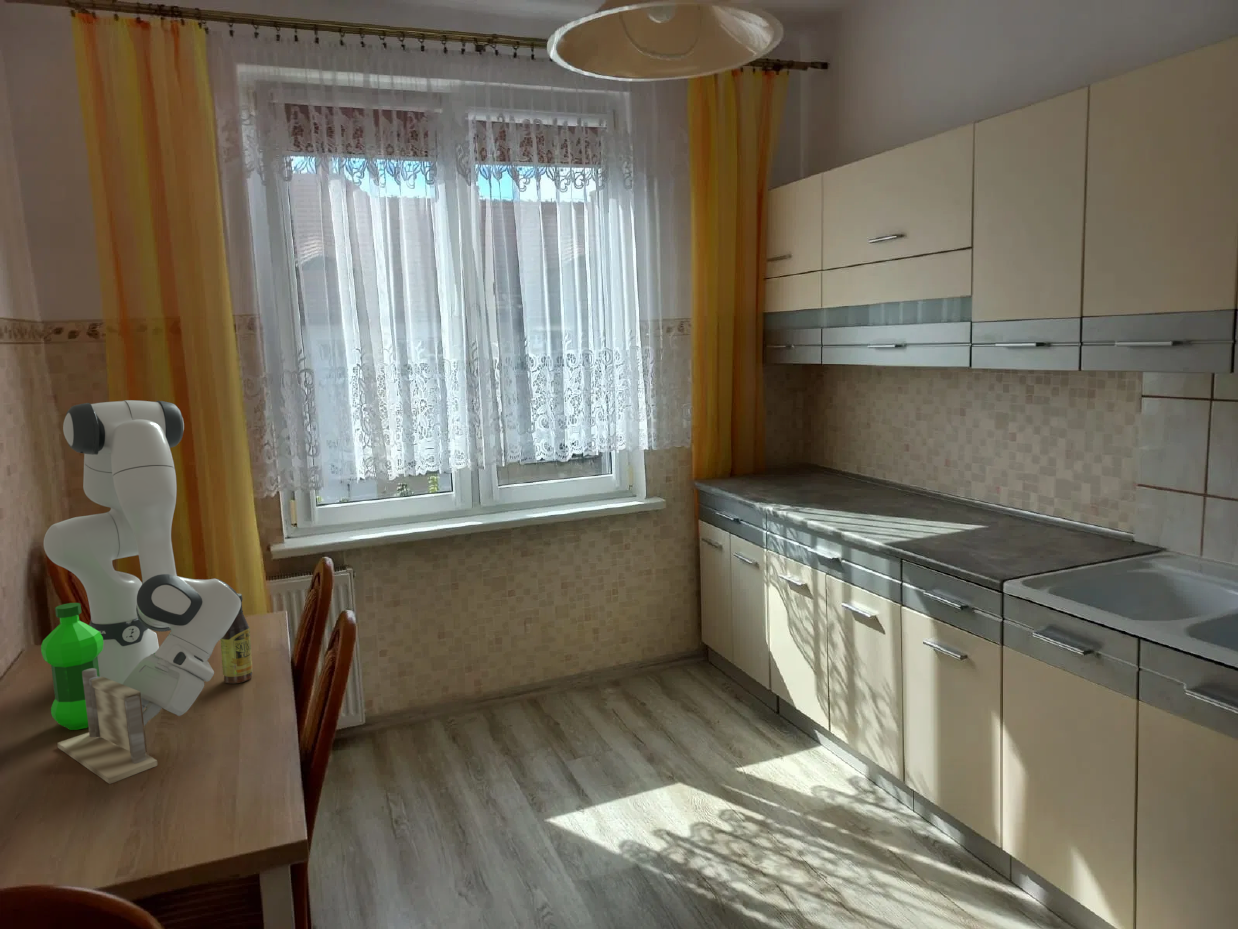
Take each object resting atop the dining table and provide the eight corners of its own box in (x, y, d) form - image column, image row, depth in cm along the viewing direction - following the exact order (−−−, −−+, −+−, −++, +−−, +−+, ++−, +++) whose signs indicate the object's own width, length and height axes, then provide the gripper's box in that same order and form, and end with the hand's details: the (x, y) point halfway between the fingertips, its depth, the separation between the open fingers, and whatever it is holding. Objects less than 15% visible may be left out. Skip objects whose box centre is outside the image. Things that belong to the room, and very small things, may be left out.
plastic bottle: (76, 713, 177) (62, 598, 174) (123, 714, 176) (109, 598, 173) (39, 735, 167) (23, 613, 164) (88, 735, 166) (73, 613, 163)
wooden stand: (58, 747, 161) (49, 678, 159) (103, 732, 167) (95, 665, 166) (109, 784, 146) (100, 707, 145) (157, 765, 153) (149, 692, 151)
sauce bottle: (242, 685, 189) (234, 600, 187) (217, 684, 191) (209, 599, 188) (259, 674, 196) (252, 592, 193) (236, 673, 197) (228, 591, 194)
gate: (93, 735, 162) (87, 678, 161) (104, 731, 164) (98, 674, 162) (135, 756, 153) (128, 695, 152) (146, 751, 155) (140, 691, 153)
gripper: (142, 642, 168) (96, 706, 162) (192, 661, 156) (144, 731, 149) (168, 656, 172) (123, 719, 166) (218, 675, 160) (172, 744, 154)
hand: (133, 725), depth 158 cm, fingers closed
